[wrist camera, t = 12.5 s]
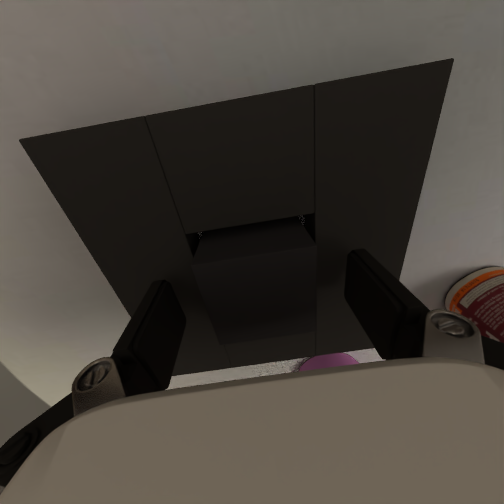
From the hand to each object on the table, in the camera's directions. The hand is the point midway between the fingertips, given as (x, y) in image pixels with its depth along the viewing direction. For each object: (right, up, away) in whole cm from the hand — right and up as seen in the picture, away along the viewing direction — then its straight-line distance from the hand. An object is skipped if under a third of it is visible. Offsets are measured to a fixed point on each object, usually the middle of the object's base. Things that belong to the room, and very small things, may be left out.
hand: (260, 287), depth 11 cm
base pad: (0, +1, +3) cm, 3 cm away
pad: (0, +1, +3) cm, 3 cm away
